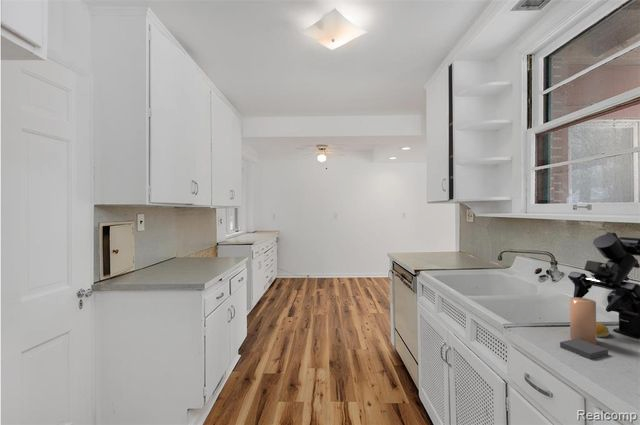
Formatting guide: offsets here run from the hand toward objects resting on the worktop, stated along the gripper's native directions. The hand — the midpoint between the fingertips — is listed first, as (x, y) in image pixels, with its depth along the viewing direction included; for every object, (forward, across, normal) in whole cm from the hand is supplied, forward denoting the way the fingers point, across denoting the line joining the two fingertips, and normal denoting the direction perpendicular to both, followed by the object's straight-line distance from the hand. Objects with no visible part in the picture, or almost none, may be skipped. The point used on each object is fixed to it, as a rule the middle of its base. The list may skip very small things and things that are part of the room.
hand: (589, 306), depth 91 cm
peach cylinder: (+9, 0, +5) cm, 11 cm away
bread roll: (+4, -4, +12) cm, 13 cm away
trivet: (+14, +5, 0) cm, 15 cm away
